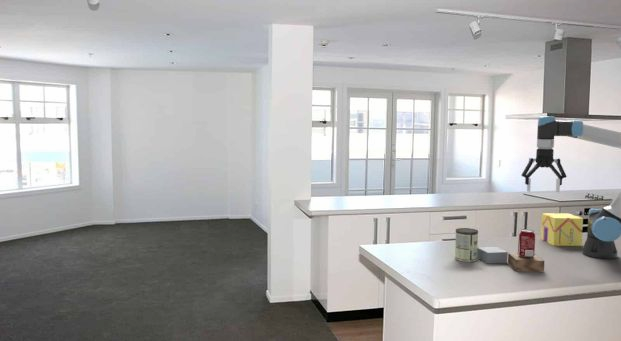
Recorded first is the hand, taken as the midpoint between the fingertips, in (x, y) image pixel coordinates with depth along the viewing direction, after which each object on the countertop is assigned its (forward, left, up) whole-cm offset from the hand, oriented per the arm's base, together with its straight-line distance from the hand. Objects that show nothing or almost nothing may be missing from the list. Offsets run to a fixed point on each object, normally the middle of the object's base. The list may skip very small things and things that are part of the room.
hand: (542, 191), depth 241 cm
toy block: (-21, -31, -32) cm, 49 cm away
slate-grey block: (+26, +13, -32) cm, 43 cm away
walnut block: (+14, +24, -32) cm, 42 cm away
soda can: (+14, +24, -27) cm, 39 cm away
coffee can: (+38, +13, -32) cm, 51 cm away
